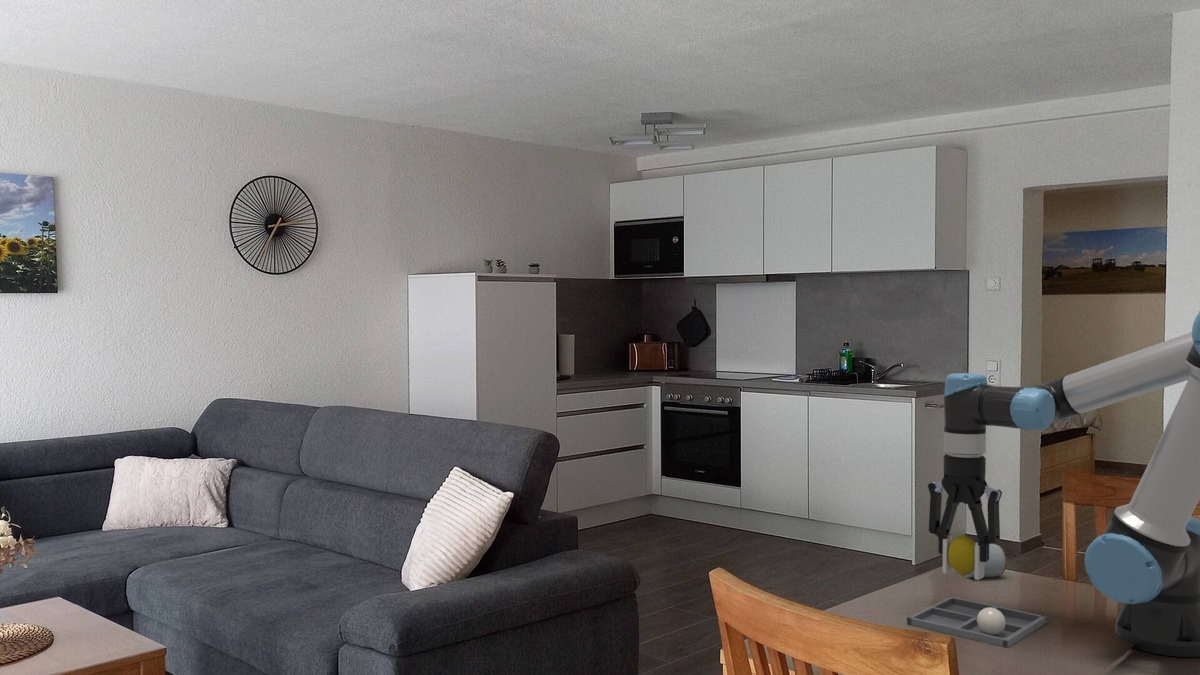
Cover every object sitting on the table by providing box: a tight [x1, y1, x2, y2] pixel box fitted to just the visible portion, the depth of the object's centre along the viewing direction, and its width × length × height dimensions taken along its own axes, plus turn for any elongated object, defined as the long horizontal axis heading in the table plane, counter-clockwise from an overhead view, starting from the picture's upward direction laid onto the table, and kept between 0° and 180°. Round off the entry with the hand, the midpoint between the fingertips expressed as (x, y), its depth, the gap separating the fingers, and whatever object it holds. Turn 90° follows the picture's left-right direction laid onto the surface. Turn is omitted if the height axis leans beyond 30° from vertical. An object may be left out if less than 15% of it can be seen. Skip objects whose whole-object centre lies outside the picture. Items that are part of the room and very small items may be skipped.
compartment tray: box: [906, 596, 1048, 649], centre depth 178 cm, size 18×18×2 cm
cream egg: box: [977, 607, 1006, 635], centre depth 172 cm, size 5×5×5 cm
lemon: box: [948, 534, 977, 577], centre depth 185 cm, size 6×6×8 cm
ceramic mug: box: [964, 542, 1007, 579], centre depth 216 cm, size 11×8×8 cm
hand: (963, 574), depth 185 cm, fingers closed on lemon, 5 cm apart
